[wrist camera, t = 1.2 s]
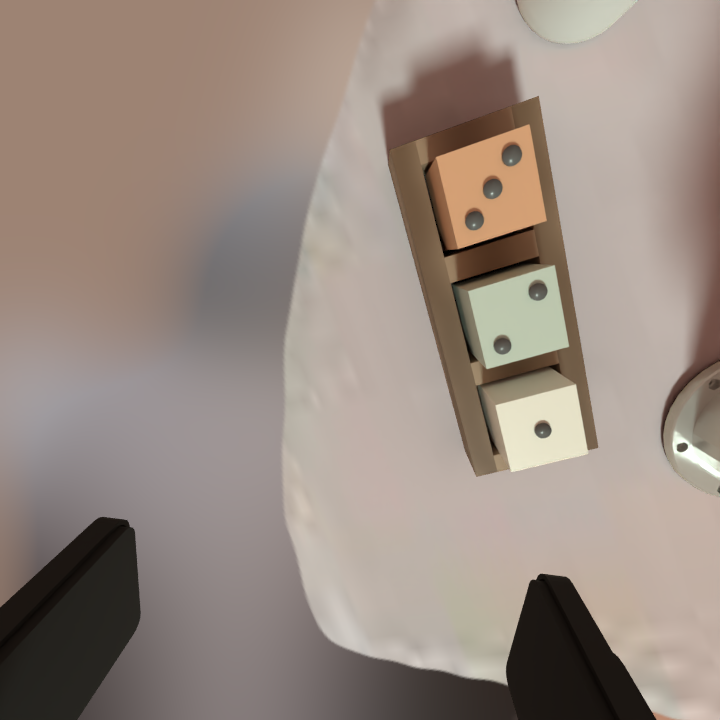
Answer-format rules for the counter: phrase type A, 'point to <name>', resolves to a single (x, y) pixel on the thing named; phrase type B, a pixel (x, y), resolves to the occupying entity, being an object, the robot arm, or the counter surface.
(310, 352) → the counter surface
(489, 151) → the button three
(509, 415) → the button one
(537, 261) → the button board
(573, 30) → the milk bottle
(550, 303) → the button two
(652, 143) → the counter surface
